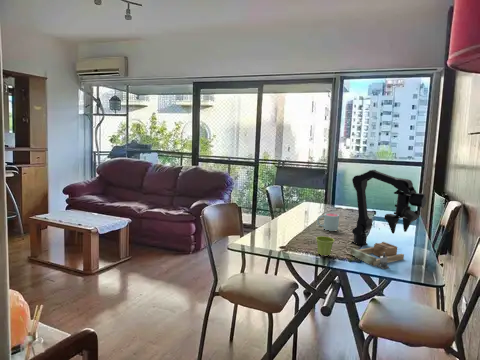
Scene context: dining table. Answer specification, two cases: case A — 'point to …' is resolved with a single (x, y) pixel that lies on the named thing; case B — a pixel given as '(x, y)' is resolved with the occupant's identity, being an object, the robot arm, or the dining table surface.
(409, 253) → the dining table surface
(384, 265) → the winch drum
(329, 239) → the plant pot
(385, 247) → the crate
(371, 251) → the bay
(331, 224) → the mug
